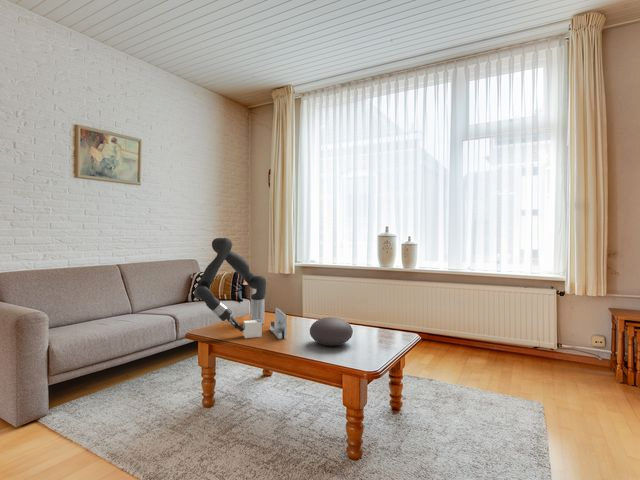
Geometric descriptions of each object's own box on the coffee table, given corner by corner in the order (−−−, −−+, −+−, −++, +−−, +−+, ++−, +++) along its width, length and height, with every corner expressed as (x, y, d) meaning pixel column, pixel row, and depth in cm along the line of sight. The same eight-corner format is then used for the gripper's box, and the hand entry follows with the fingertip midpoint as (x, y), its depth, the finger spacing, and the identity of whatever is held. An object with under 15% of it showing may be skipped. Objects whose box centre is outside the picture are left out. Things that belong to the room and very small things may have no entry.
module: (242, 335, 221) (242, 320, 220) (259, 334, 224) (259, 318, 224) (244, 338, 215) (244, 322, 215) (261, 336, 219) (261, 321, 218)
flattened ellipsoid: (358, 341, 212) (358, 315, 211) (343, 353, 189) (344, 325, 189) (320, 336, 222) (320, 311, 222) (301, 347, 199) (302, 320, 199)
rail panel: (269, 329, 235) (269, 308, 235) (277, 328, 237) (277, 307, 237) (278, 339, 213) (278, 315, 213) (286, 338, 215) (286, 315, 215)
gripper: (227, 308, 208) (248, 328, 212) (225, 304, 220) (245, 323, 225) (218, 318, 206) (239, 338, 211) (216, 313, 219) (236, 332, 223)
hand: (242, 330), depth 218 cm, fingers closed
